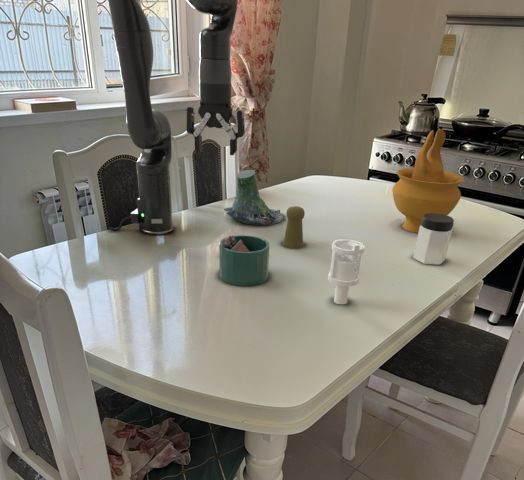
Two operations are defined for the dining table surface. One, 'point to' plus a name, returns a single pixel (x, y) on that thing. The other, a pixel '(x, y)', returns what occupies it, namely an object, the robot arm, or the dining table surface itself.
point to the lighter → (235, 244)
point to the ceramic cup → (245, 262)
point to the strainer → (345, 268)
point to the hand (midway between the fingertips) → (215, 153)
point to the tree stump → (251, 203)
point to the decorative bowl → (426, 185)
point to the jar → (433, 238)
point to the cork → (294, 228)
